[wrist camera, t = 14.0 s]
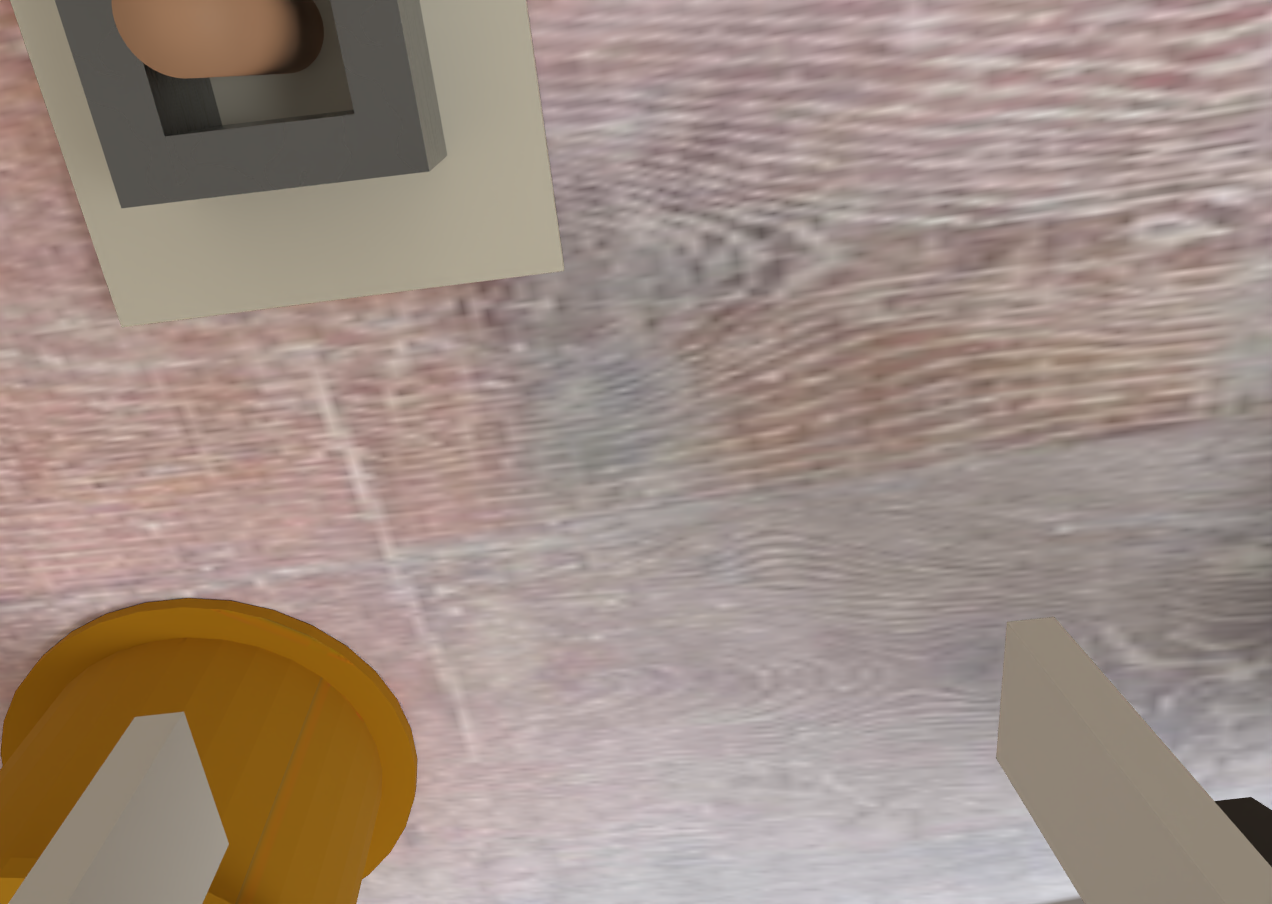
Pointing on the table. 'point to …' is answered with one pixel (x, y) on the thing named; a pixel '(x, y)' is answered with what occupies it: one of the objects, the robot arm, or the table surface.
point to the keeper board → (320, 214)
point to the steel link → (262, 150)
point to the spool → (220, 743)
